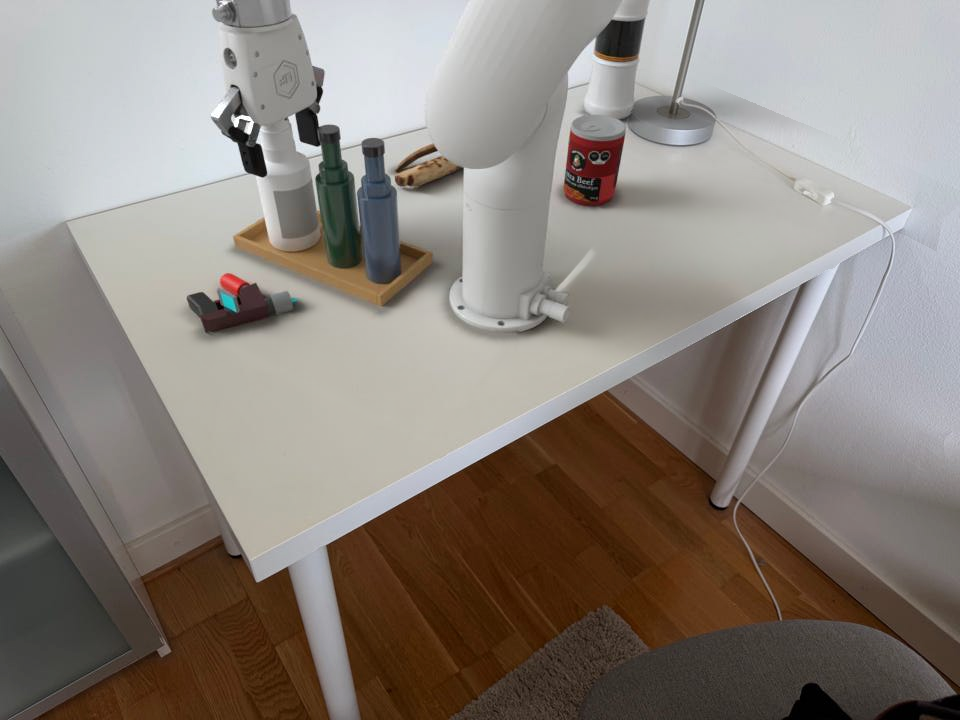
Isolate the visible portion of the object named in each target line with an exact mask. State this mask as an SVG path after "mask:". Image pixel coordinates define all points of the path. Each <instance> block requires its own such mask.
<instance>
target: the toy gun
mask: <svg viewBox="0 0 960 720" xmlns="http://www.w3.org/2000/svg"><path fill="white" fill-rule="evenodd" d="M219 284H220V287H221V288H220V287H218V288H217V289H216V292H217V296H218V299H216V300H212V299H211V298H210V297H209V296H208V295H207V294H206V293H205V292H203V291H199V292H195V293H191V294H187V296H186V301H187V304H188V307H189V309H190V310H191V311H192V312H193V313H194V314H195V315H196V316H197V317H198V318H199V319H200V322H201V325H202V326H203V330H204V333H205V334H209V335H212V334H213V333H217V332H220V331H225V330H227V329H232V328H234V327H238V326H242V325H246V324H249V323H254V322H257V321H261V320H264V319H269V318H270V316H272V315H275V316H276V315H281V314H285V313H288V312H291V311H294V304H293V303H295V302H296V301H297V300H299V299H300V298H299V297H291V295H290V292H289V291H288V290H284V291H281V292H277V293H272V294H269V297H268V296H267V297H264V296H263V294H262V292H261V290H260V288H259V285H258V284H257V282H254V283H250V282H248V281H246V280H244V279H243V278H240V277H239V276H237V275H236V274H233V273H231V272H228V273H224V274H223V275H222V276H221V277H220V279H219Z"/></svg>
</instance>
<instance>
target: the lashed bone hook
mask: <svg viewBox="0 0 960 720" xmlns="http://www.w3.org/2000/svg"><path fill="white" fill-rule="evenodd" d="M436 152H439V151H438V150H437V149H436V147H435V146H434V144H433V143H430V144H428V145H425V146H423V147H420V148H419V149H416V150H415V151H413V152H412V153H410V154H409V155H408V156H407V157H405V158H404V159H403V160H401V162H400V163H399V164H398V165H397V166H396V168H395V169H394V172H395V173H397V174H395V175H394V182H395V184H396V185H397V186H398V187H401V188H403V187H406V186H408V187H419V186H421V185H424V184H428V183H429V182H432V181H434V180H437V179H441V178H443V177H444V176H448V175H449V174H452V173H454V172H456V171H458V170H460V169H461V168H463V167H460V166H458V165H455V164H453V163H452V162H450V161H449V160H447V159H446V158H445V157H444V156H443V155H440V156H437V157H435V158H432V159H429V160H427V161H424V162H422V163H420V164H418V165H416V166H414V167H412V168H407V167H408V166H409V165H411V164H412V163H414V162H415V161H417V160H419V159H421V158H423V157H426V156H428V155H431V154H433V153H436ZM405 168H407V169H405ZM404 169H405V170H404ZM402 170H403V171H402ZM398 172H399V173H398Z"/></svg>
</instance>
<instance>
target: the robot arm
mask: <svg viewBox="0 0 960 720" xmlns="http://www.w3.org/2000/svg"><path fill="white" fill-rule="evenodd" d="M290 1H291V0H215V3H216V7H214V8H212V9H211V14H212V17H213V19H214V20H215V21H216V22H218V23H220V24H221V26H220V27H219V28H218V44H219V55H220V63H221V64H220V65H221V70H222V77H223V82H224V86H225V92H226V94H225V95H224V96H223V98H222V99H221V101H220V102H219V103H218V105H217V106H216V107H215V109H213V111H212V112H211V114H210V119H211V120H212V122H213V123H214V124H215V125H216V127H217V128H218V129H219V130H220V132H221V135H223V136H224V137H226V138H228V139H229V140H231V142H234V143H236V144H237V147H238V152H239V155H240V159H241V164H242V167H243V169H244V171H245V173H247V174H250V175H253V176H255V177H256V176H259V177H262V178H263V177H265V176H267V169H266V164H265V160H264V155H263V151H262V146H261V143H258V142H257V141H258V138H259V136H260V133H259V131H260V128H261V126H270V125H273V124H275V123H277V122H279V121H281V120H283V119H285V118H287V117H288V118H289V117H291V116H293V115H294V116H295V122H296V126H297V127H296V129H297V132H298V133H297V134H298V139H299V142H301V143H303V144H305V145H309V146H313V147H316V148H318V147H321V143H320V141H319V139H318V131H317V129H318V128H319V127H320V123H319V120H318V119H319V118H318V114H319V113H320V112H321V105H320V103H321V100H322V98H323V95H324V89H323V86H324V81H325V75H326V73H325V70H324V68H321V67H318V66H315V65H313V63H312V59H311V54H310V50H309V47H308V43H307V39H306V36H305V34H304V30H303V28H302V25H301V23H300V21H299V18H298V15H296V13H293V12H292V7H291V2H290ZM621 2H622V0H468V2H467V4H466V5H465V8H464V10H463V12H462V14H461V16H460V19H459V21H458V22H457V24H456V27H455V29H454V31H453V33H452V34H451V37H450V39H449V41H448V43H447V45H446V48H445V49H444V52H443V53H442V55H441V58H440V59H439V62H438V64H437V66H436V69H435V70H434V72H433V75H432V77H431V80H430V81H429V85H428V88H427V91H426V96H425V102H424V119H425V120H424V121H425V125H426V129H427V133H428V136H429V138H430V140H431V142H432V144H434V146H435V147H436V149H437V150H438V151H437V152H438V153H440V154H441V156H444V157H445V158H446V159H447V160H449V161H450V162H452V163H453V164H455V165H458V166H460V167H462V168H463V186H462V187H463V189H462V191H463V192H462V196H463V197H462V202H463V203H462V275H461V276H460V277H458V278H457V279H456V280H455V281H454V282H453V284H452V285H451V287H450V290H449V295H448V296H449V297H448V298H449V305H450V307H451V310H452V311H453V313H454V314H455V315H456V316H457V317H458V319H460V320H462V321H463V322H464V323H466V324H468V325H470V326H472V327H475V328H477V329H480V330H483V331H489V332H495V333H512V332H513V333H514V332H517V333H522V332H525V331H528V330H530V329H533V328H535V327H537V326H538V325H540V324H542V323H543V322H544V321H545V320H546V319H547V317H548V318H551V319H553V320H556V321H558V322H560V323H565V322H566V321H567V320H568V318H569V315H570V311H571V307H570V306H568V305H567V303H568V301H569V298H570V295H569V294H567V293H565V292H562V291H559V290H558V291H557V290H555V289H553V288H552V287H553V286H550V280H551V273H549V272H546V271H544V260H545V251H546V243H547V242H546V241H547V232H548V224H549V223H548V222H549V213H550V204H551V194H552V187H553V180H554V179H553V178H554V170H555V161H556V155H557V150H558V143H559V142H558V141H559V139H560V133H561V128H562V124H563V120H564V115H565V111H566V106H567V104H566V103H567V99H568V91H569V71H570V69H571V68H572V66H573V65H574V64H575V62H576V61H577V59H578V58H579V57H580V55H581V54H582V53H583V51H584V50H585V49H586V48H587V47H588V46H589V45H590V44H591V43H592V42H593V41H594V40H596V37H597V36H598V35H599V34H600V33H601V32H602V31H603V29H604V28H605V27H606V26H607V25H608V24H609V22H610V21H611V19H612V18H613V16H614V15H615V13H616V11H617V10H618V8H619V6H620V4H621ZM232 117H234V118H235V120H234V122H233V120H232ZM247 123H248V124H249V125H248V128H247V132H245V129H246V127H247Z"/></svg>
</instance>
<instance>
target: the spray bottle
mask: <svg viewBox="0 0 960 720" xmlns="http://www.w3.org/2000/svg"><path fill="white" fill-rule="evenodd" d="M259 138H260V144H261V146H262V151H263V155H264V160H265V164H266V169H267V176H265V177H263V178H262V177H259V176H256V175H255V180H256V184H257V189H258V194H259V199H260V203H261V208H262V211H263V218H265V222H266V227H267V232H268V237H269V241H270V243H271V244H272V245H273V247H275V248H277V249H278V250H282V251H289V252H295V251H302V250H305V249H308V248H310V247H312V246H314V245H315V244H316V243H317V242H318V241H319V239H320V236H321V234H320V228H319V221H318V215H317V211H318V209H317V203H316V195H315V189H314V184H313V177H312V176H313V175H312V170H311V164H310V159H309V157H307V156H306V154H304V153H302V152H300V151H297V147H296V146H297V145H296V141H295V139H294V131H293V128H292V123H291V122H290V119H289V117H287V118H285V119H283V120H281V121H279V122H277V123H275V124H273V125H270V126H261V128H260V131H259Z"/></svg>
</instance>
